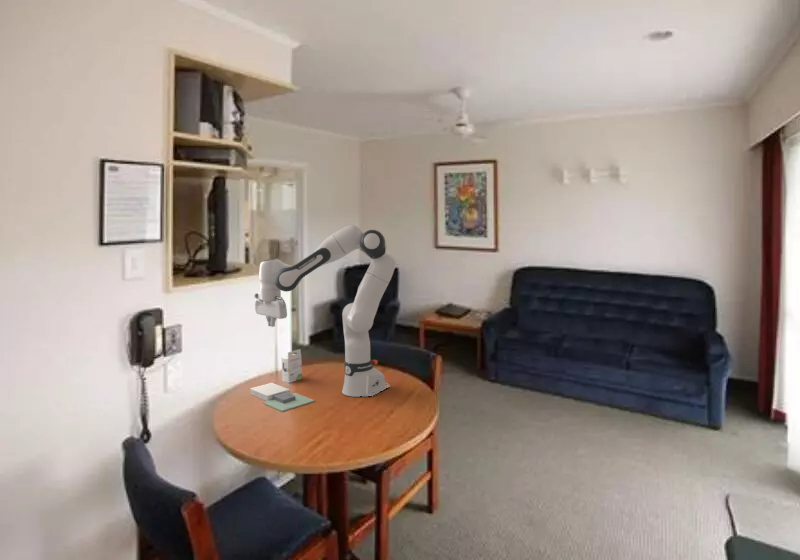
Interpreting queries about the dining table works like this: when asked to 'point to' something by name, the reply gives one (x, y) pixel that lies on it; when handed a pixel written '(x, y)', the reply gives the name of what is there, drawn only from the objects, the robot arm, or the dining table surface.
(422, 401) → the dining table surface
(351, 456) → the dining table surface
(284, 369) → the ink box
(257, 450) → the dining table surface
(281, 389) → the stand
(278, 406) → the mat
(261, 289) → the robot arm
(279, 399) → the slate coaster
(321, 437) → the dining table surface
